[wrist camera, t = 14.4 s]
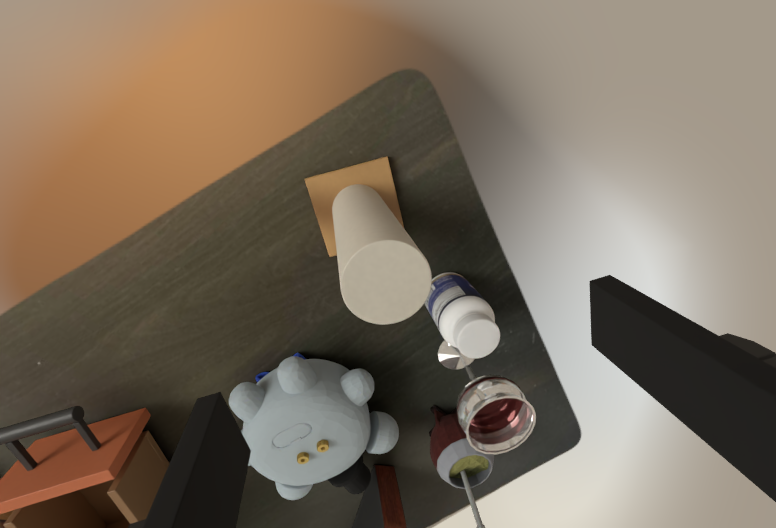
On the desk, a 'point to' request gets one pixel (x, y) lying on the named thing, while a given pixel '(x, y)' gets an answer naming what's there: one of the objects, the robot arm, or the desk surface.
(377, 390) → the desk surface
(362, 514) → the radio
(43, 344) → the desk surface
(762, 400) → the robot arm
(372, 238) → the canister
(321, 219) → the coaster
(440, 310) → the pill bottle
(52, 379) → the desk surface
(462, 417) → the wineglass
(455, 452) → the mate gourd
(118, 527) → the drawer
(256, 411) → the figurine
